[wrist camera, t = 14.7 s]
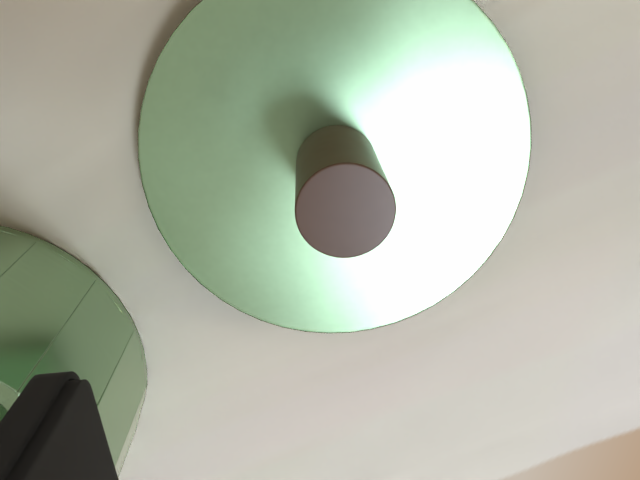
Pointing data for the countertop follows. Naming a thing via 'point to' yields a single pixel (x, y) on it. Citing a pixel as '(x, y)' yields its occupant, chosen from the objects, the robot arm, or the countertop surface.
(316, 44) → the pot lid
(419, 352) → the countertop surface
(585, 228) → the countertop surface
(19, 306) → the pot
